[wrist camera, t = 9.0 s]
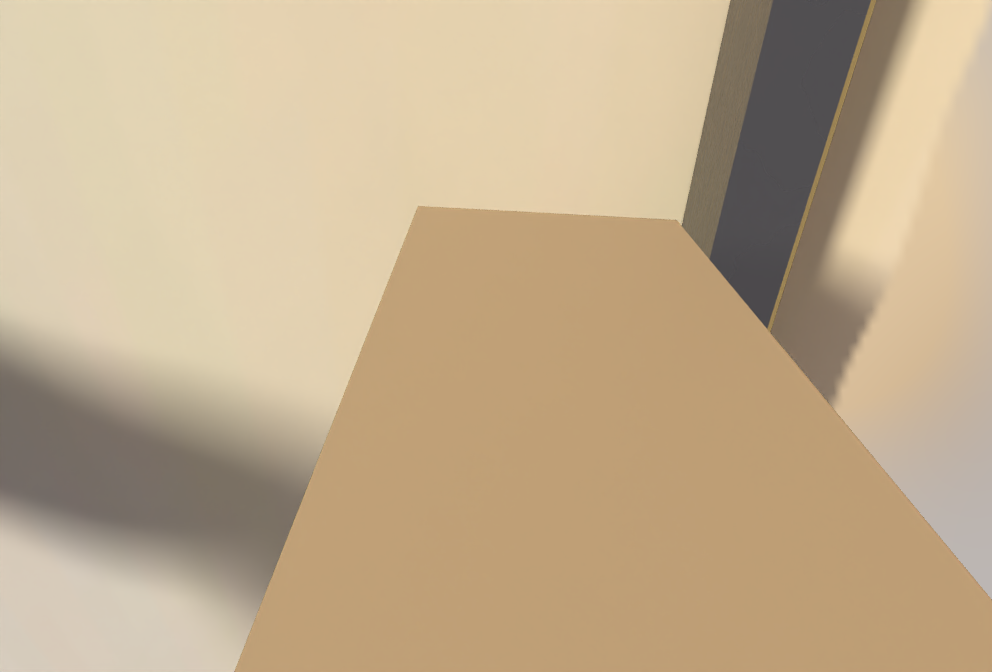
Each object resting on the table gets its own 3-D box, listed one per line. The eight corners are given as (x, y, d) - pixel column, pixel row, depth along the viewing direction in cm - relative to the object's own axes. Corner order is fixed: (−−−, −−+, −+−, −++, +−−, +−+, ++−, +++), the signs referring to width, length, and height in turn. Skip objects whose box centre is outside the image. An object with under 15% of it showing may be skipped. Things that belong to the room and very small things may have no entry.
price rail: (666, 557, 28) (684, 613, 26) (610, 555, 28) (622, 611, 26) (885, -216, 15) (968, -264, 12) (778, -224, 15) (840, -273, 12)
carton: (613, 571, 16) (746, 1218, 8) (421, 563, 16) (332, 1212, 8) (692, 220, 12) (1305, 903, 3) (417, 206, 11) (153, 875, 3)
